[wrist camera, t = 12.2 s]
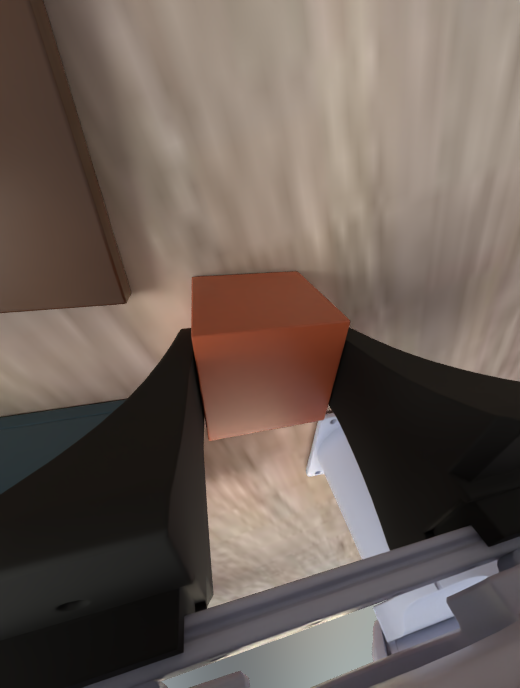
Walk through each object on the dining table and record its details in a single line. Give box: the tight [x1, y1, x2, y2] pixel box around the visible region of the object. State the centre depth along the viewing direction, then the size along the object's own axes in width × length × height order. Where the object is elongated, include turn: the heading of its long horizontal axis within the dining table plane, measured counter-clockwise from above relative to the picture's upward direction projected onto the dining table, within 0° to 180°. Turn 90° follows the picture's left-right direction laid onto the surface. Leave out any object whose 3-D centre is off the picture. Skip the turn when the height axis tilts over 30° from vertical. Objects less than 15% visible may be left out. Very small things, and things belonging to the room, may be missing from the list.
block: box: [191, 271, 350, 441], centre depth 10 cm, size 5×5×5 cm
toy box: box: [0, 399, 127, 494], centre depth 13 cm, size 12×10×5 cm
